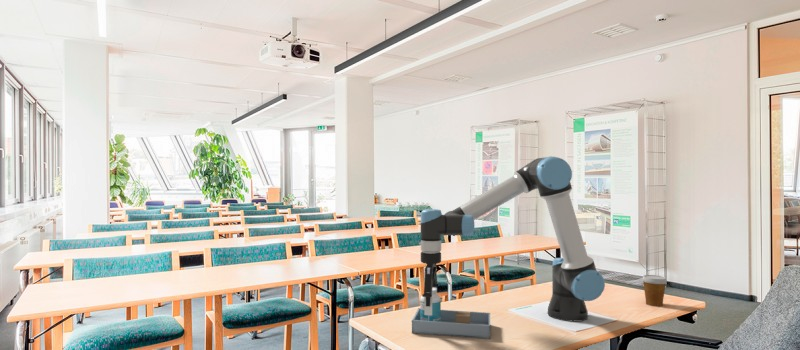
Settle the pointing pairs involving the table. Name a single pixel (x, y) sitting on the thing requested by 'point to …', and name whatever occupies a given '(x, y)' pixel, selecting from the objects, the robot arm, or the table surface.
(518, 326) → the table surface
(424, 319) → the pill bottle
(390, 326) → the table surface
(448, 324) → the tote
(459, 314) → the walnut cube
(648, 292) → the disposable coffee cup
